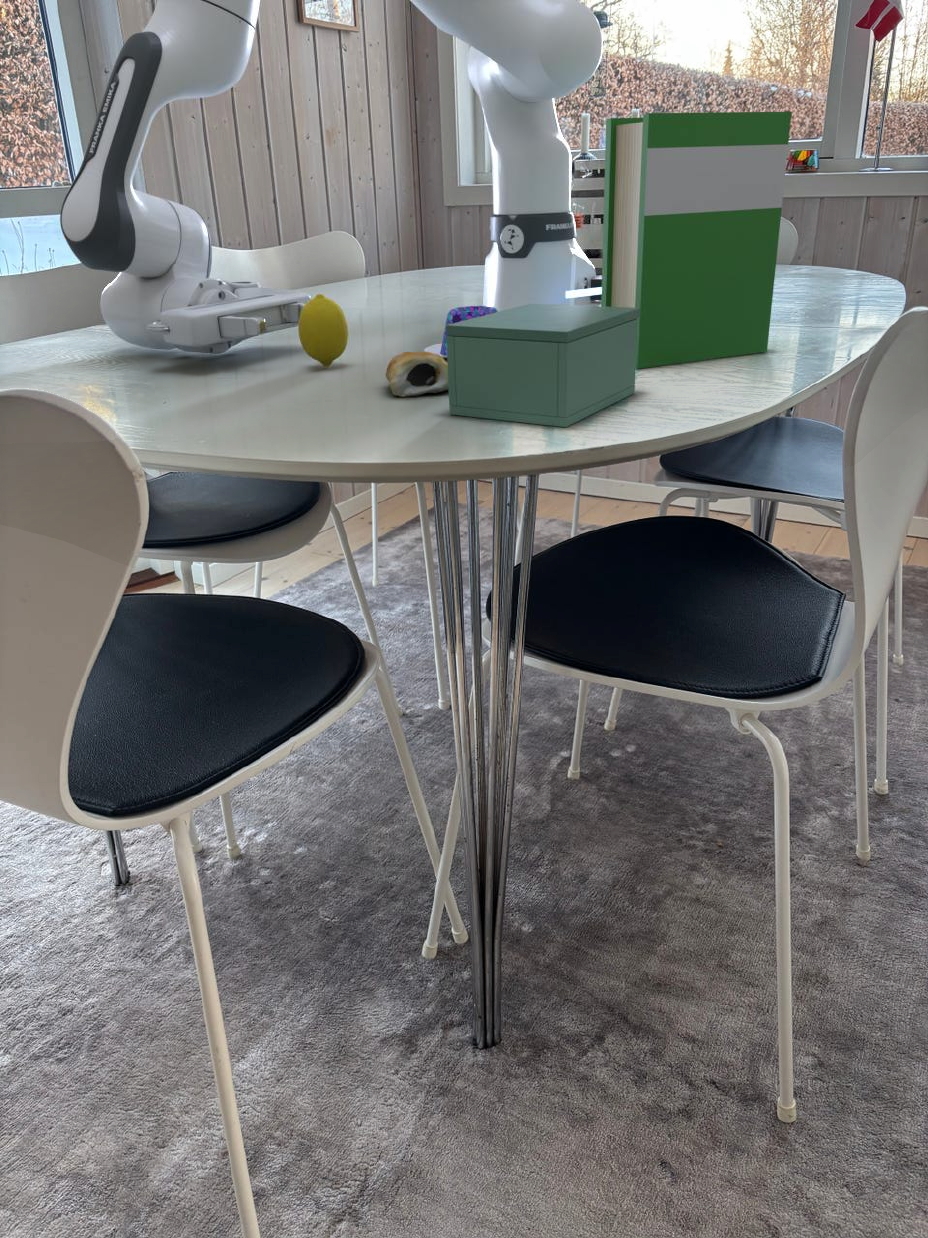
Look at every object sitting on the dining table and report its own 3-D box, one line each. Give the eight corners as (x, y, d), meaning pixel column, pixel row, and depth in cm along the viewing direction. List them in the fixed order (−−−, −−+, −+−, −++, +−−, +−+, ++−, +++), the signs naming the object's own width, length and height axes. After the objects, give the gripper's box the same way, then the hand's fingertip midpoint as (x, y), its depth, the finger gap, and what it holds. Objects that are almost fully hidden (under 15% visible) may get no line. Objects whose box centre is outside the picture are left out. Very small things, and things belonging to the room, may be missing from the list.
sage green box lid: (529, 312, 91) (529, 303, 90) (640, 317, 85) (640, 307, 85) (446, 335, 79) (445, 325, 79) (567, 342, 74) (567, 331, 73)
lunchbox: (527, 383, 93) (527, 313, 90) (635, 393, 88) (638, 318, 85) (449, 414, 82) (446, 335, 79) (565, 427, 77) (567, 343, 74)
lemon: (342, 371, 103) (335, 296, 100) (295, 371, 104) (287, 296, 101) (357, 362, 108) (351, 290, 104) (312, 362, 109) (305, 291, 106)
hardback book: (637, 368, 98) (648, 112, 88) (599, 358, 104) (606, 118, 94) (767, 351, 105) (791, 111, 94) (724, 343, 111) (743, 116, 101)
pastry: (381, 380, 97) (378, 343, 96) (444, 376, 98) (442, 339, 97) (391, 398, 89) (389, 358, 87) (460, 394, 90) (458, 354, 88)
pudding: (415, 364, 106) (412, 316, 103) (434, 346, 116) (432, 302, 114) (519, 363, 104) (518, 314, 101) (529, 345, 114) (529, 301, 112)
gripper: (132, 299, 104) (219, 303, 97) (259, 280, 120) (342, 282, 113) (143, 356, 107) (228, 364, 100) (266, 330, 122) (347, 335, 115)
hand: (290, 320), depth 107 cm, fingers open, 8 cm apart
